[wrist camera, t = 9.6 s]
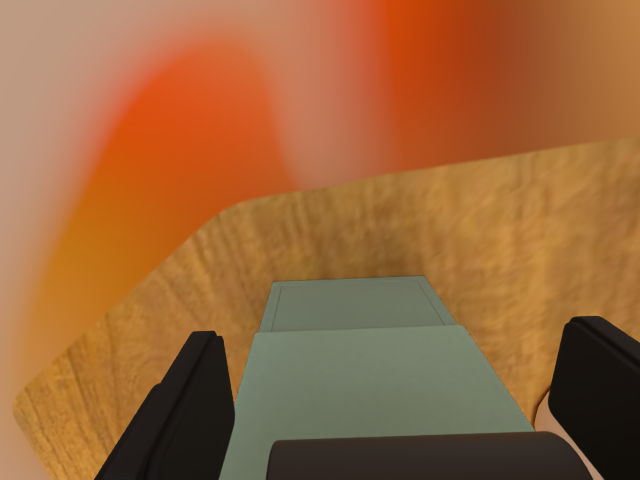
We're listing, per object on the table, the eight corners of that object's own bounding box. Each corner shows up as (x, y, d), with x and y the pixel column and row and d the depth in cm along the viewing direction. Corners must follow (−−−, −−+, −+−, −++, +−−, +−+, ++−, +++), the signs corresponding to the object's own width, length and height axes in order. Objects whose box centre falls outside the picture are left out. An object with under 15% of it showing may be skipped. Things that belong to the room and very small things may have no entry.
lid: (747, 783, 6) (937, 619, 4) (134, 795, 6) (26, 643, 4) (461, 336, 19) (474, 240, 17) (256, 344, 19) (243, 249, 17)
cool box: (416, 404, 30) (442, 482, 23) (285, 408, 30) (276, 487, 23) (424, 275, 25) (459, 325, 19) (272, 281, 26) (257, 333, 19)
